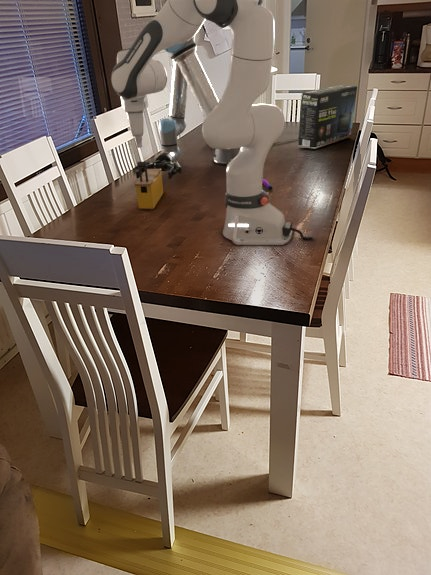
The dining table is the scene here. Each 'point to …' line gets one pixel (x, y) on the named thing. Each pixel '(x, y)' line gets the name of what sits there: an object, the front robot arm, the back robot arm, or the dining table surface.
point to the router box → (326, 115)
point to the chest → (150, 193)
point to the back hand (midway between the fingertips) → (153, 175)
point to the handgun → (267, 184)
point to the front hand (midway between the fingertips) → (139, 144)
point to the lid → (146, 175)
